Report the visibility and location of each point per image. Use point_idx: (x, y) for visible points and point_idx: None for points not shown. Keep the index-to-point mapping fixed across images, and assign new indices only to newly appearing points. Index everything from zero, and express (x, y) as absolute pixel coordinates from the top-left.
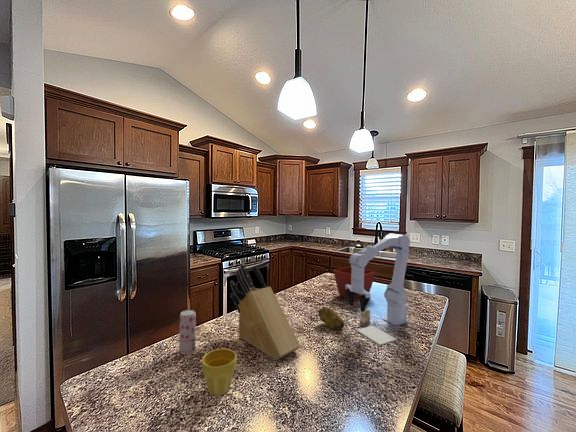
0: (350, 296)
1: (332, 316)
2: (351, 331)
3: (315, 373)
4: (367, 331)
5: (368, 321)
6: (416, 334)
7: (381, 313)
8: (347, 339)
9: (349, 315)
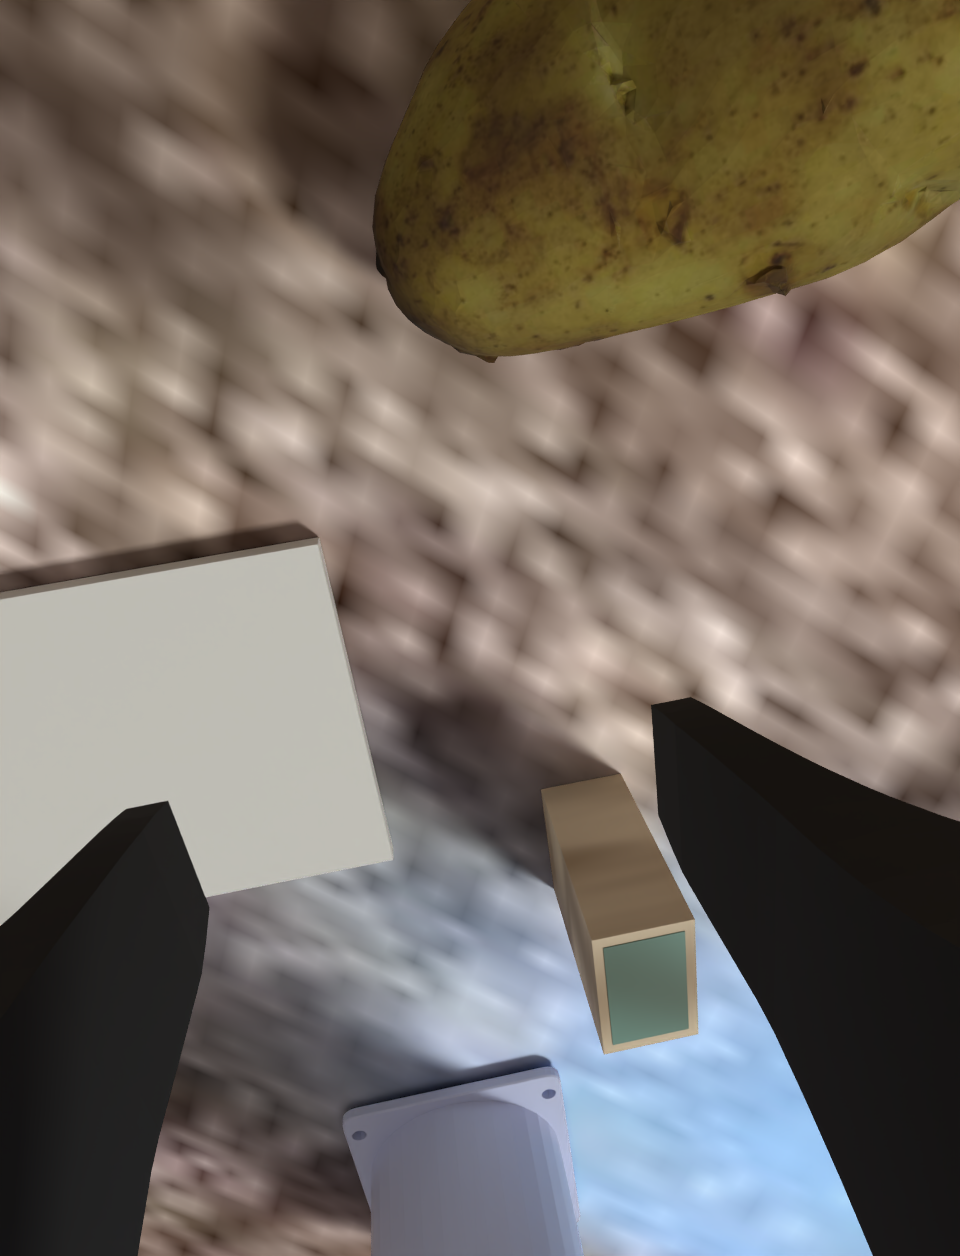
0: (833, 955)
1: (643, 19)
2: (324, 439)
3: None
4: (217, 691)
5: (552, 874)
6: None
7: (712, 1117)
8: (8, 156)
9: (862, 719)
